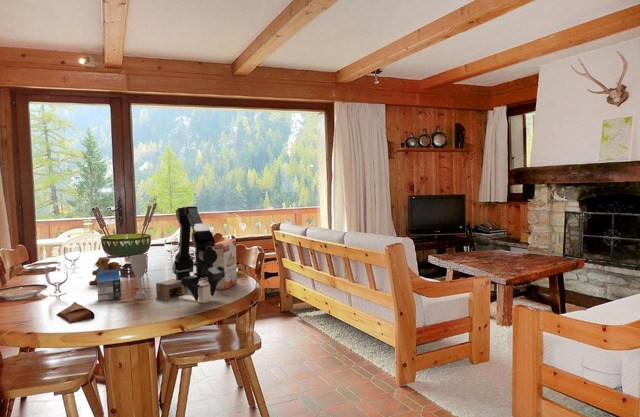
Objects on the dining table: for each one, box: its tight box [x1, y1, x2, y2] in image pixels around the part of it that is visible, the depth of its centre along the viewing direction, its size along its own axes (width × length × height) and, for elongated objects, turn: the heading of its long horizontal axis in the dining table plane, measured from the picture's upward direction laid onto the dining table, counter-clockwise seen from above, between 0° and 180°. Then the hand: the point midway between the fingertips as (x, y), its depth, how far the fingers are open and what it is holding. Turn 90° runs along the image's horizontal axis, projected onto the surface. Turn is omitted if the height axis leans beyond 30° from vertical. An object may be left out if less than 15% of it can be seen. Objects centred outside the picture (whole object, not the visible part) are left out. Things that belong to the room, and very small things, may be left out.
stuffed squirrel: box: [88, 256, 122, 286], centre depth 224 cm, size 10×14×13 cm
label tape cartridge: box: [96, 269, 122, 302], centre depth 192 cm, size 9×4×12 cm, turn 117°
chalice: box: [129, 254, 148, 300], centre depth 193 cm, size 7×7×18 cm
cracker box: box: [212, 239, 238, 290], centre depth 210 cm, size 14×6×21 cm, turn 168°
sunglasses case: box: [56, 301, 96, 325], centre depth 169 cm, size 18×7×7 cm, turn 46°
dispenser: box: [155, 278, 185, 300], centre depth 195 cm, size 7×9×6 cm
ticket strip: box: [177, 283, 212, 304], centre depth 187 cm, size 15×4×7 cm, turn 57°
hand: (204, 298), depth 184 cm, fingers open, 8 cm apart
